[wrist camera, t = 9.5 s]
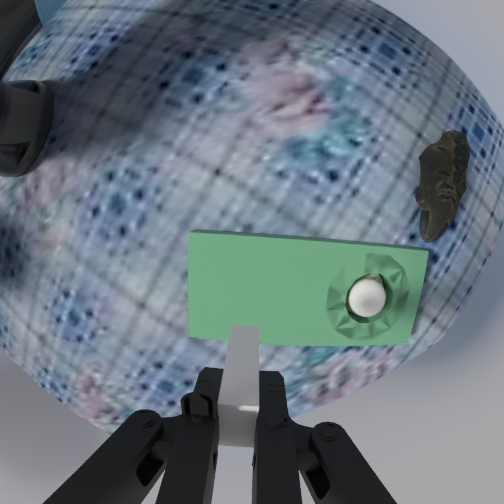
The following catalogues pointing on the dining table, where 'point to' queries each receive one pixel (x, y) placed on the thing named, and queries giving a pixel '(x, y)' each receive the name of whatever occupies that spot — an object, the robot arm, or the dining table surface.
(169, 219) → the dining table surface
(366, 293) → the ball
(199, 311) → the green rectangular board
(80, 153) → the dining table surface
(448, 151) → the stone
